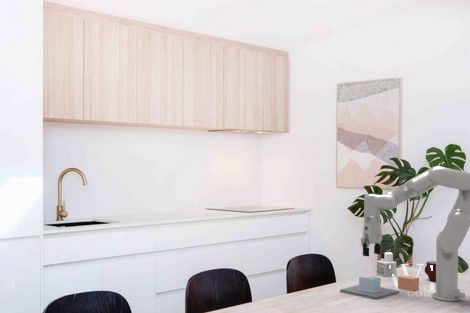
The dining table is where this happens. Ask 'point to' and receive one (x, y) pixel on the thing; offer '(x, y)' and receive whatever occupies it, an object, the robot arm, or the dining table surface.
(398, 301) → the dining table surface
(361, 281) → the blue brick
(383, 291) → the baseplate
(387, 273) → the container
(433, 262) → the mug
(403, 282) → the terracotta brick
